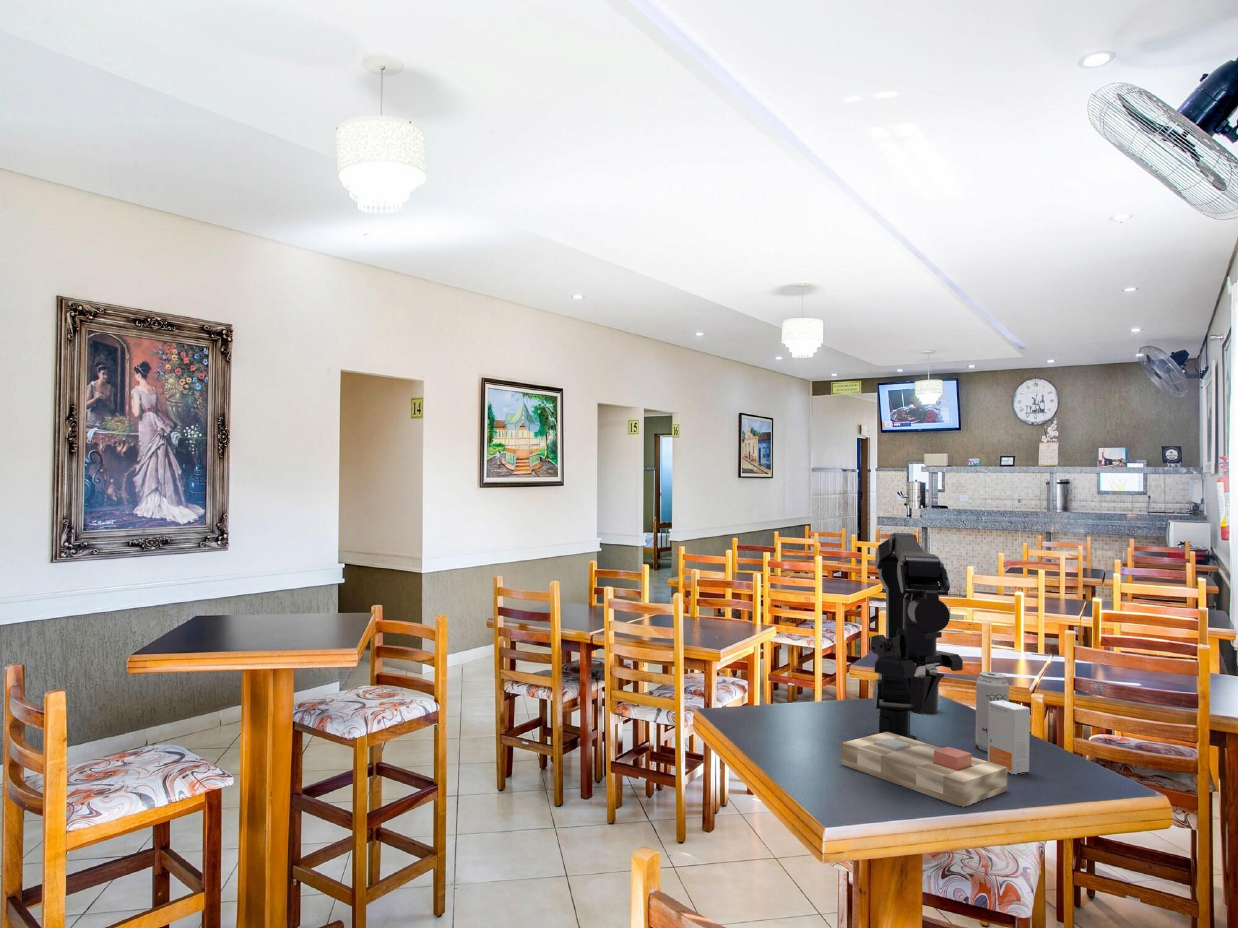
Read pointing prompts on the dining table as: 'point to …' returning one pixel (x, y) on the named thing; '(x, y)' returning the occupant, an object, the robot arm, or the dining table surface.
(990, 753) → the skincare box
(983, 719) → the energy drink can
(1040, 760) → the dining table surface
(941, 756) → the button red
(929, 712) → the supplement bottle
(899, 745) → the button grey
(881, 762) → the console
